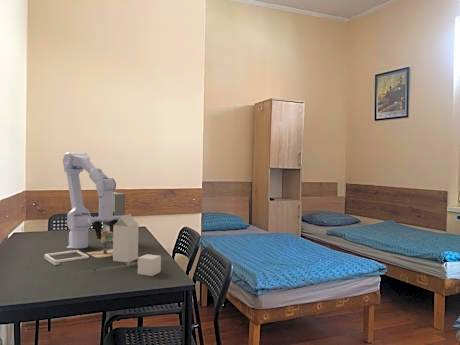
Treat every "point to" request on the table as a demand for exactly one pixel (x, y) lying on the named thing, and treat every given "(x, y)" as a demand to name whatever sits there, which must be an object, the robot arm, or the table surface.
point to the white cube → (149, 264)
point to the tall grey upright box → (116, 210)
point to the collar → (106, 236)
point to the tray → (56, 262)
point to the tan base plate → (102, 252)
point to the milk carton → (125, 240)
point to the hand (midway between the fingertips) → (105, 238)
